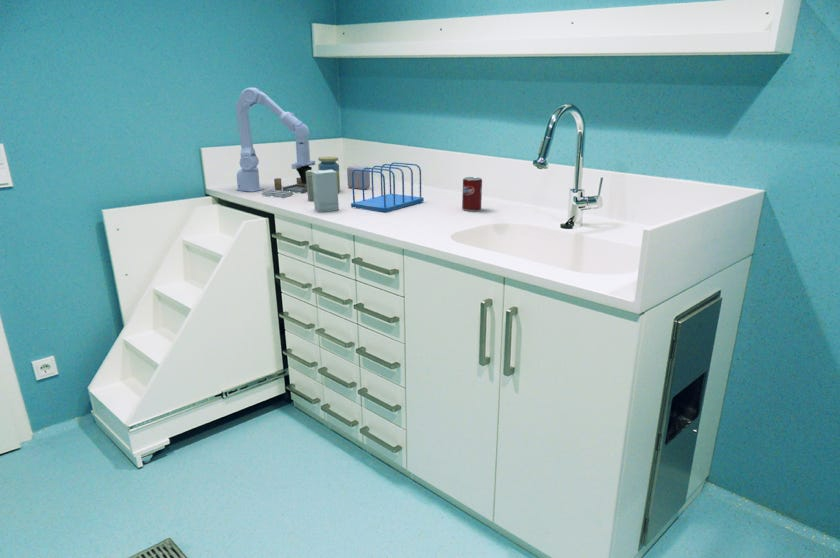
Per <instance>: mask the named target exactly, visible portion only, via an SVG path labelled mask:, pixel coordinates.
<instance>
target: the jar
mask: <svg viewBox="0 0 840 558" xmlns="http://www.w3.org/2000/svg"><path fill="white" fill-rule="evenodd" d="M318 161H319V162H320V163H318V164H317V165H318V166H317V167H318V168H317V170H334V171H336V172H337V188H338V193H339V192H340V191H341V186H340V184H341V183H340V180H341V179H340V165H339V164H338V163H337V161H339V157H337V156H320V157H318Z"/></svg>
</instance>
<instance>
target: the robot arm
mask: <svg viewBox="0 0 840 558" xmlns="http://www.w3.org/2000/svg"><path fill="white" fill-rule="evenodd" d="M255 104H258V105H263V106H265V107H266V108H268V109H269V110H270V111H271V112H273V113H274V114H275V115H276V116H278V117H279V120H280V123H281V124H282V125H284V126H285V127H286V128H287V129H288V130H290V131H291V132H293V135H294V137H295V150H296V162H295V163H291V169H292V170H296V171H297V173H298V174H299V178H301V181H302V183H305V184H306V183H307V181H306V171H308V170H313V169H312V168H313V167H312V166H316V160H311V155H310V154H311V153H310V141H309V134H310V129H309V127H308V126H307V124H305V123H303V121H302V120H300V119H298V118H297V117H296V116H295V114H294V112H290V111H284V110H283V109H282V108H281V107H280V106H279V105H278V104H277V103H276V102H275V101H274V100H272V98H270V97H269V96H268V95H267V94H266V93H265V92H263V91H261V90H260V89H259V88H258V87H256V86H255V87H246V88H245V89H243V90H242V91H241V92H240V93H239V97H238V99H237V101H236V104H235V107H234V108H235V114H236V121H237V127H238V134H239V141H240V147H241V148H240V149H241V150H240V159H239V165H240V168H241V169H240V170H238V171H237V172H236V183H237V188H236V191H243V192H251V193H253V192H257V191H261V190H265V188H264V187H261V186H260V176H259V175H260V174H259V173H260V172H259V168H258V165H259V161H260V160H259V157H258V156H257V154H256V151H255V148H254V144H253V143H254V142H253V137H252V135H253V134H252V130H251V123H250V122H251V121H250V116H249V110H250V109H251V108H252V107H253V106H254V105H255Z"/></svg>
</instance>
